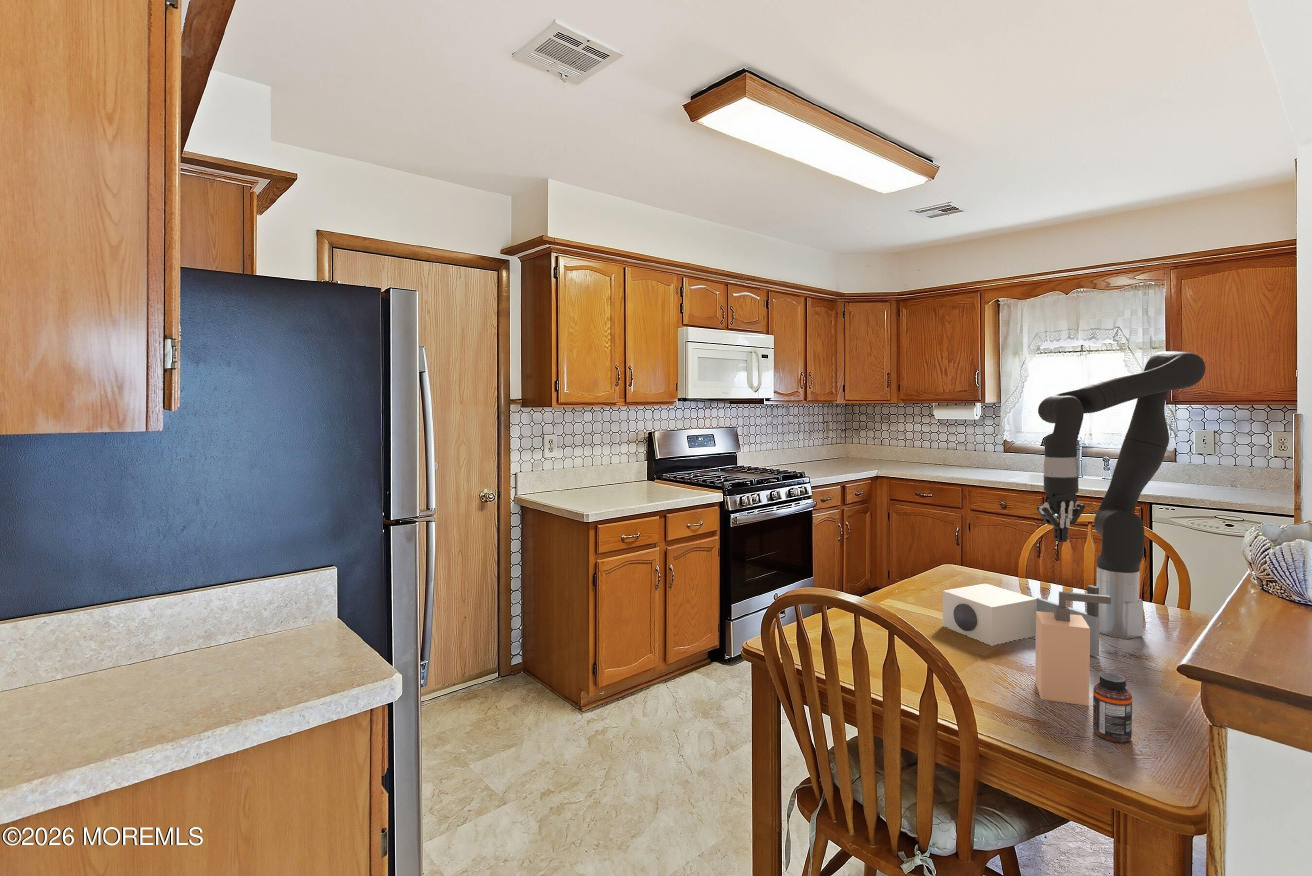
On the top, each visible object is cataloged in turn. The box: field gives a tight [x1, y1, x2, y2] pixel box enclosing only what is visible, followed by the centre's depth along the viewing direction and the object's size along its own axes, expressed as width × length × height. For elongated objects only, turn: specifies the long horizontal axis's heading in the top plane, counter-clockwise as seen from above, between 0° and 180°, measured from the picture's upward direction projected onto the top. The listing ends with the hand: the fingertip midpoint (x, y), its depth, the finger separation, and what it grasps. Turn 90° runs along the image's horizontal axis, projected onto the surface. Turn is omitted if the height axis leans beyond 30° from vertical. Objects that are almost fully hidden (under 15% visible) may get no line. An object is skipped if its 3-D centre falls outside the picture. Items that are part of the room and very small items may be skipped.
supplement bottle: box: [1092, 672, 1133, 744], centre depth 121 cm, size 6×6×11 cm
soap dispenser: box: [1034, 591, 1111, 707], centre depth 137 cm, size 13×9×22 cm
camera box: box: [942, 582, 1037, 647], centre depth 175 cm, size 16×17×10 cm
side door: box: [1036, 585, 1100, 658], centre depth 164 cm, size 2×16×17 cm, turn 19°
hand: (1061, 541), depth 166 cm, fingers closed
